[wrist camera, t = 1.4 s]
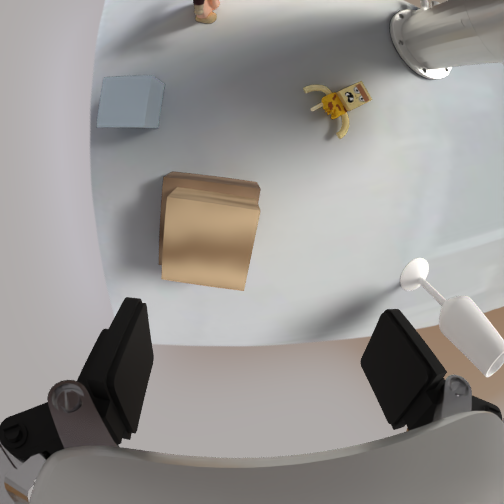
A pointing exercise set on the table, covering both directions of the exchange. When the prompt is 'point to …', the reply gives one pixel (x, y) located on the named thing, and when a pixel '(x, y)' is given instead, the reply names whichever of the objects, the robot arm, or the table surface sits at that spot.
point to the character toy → (341, 102)
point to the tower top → (208, 238)
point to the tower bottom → (204, 184)
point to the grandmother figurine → (205, 10)
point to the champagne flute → (460, 321)
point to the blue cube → (130, 102)
